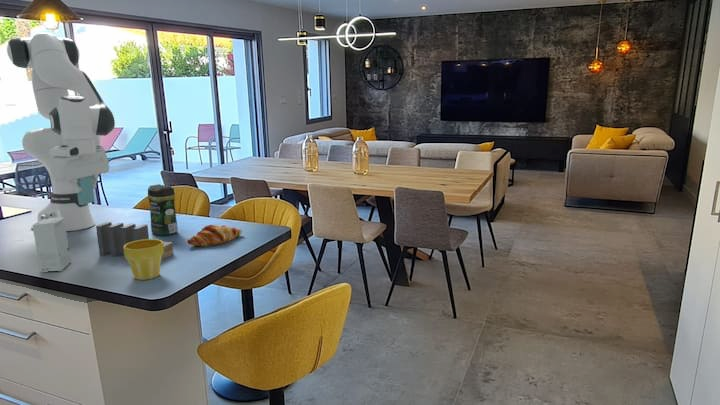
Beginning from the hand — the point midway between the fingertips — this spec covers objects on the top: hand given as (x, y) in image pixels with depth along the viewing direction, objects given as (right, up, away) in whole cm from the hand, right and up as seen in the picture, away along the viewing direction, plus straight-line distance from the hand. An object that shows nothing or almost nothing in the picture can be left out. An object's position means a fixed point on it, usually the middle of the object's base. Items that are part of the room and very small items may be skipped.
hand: (85, 190), depth 152 cm
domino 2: (+5, -21, +3) cm, 22 cm away
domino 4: (+14, -21, +2) cm, 25 cm away
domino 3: (+10, -21, +3) cm, 23 cm away
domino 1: (0, -4, +1) cm, 4 cm away
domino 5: (+19, -21, +1) cm, 28 cm away
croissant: (+38, -18, +16) cm, 45 cm away
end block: (+25, -22, 0) cm, 33 cm away
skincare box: (-3, -24, -10) cm, 26 cm away
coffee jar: (+15, -16, +26) cm, 34 cm away
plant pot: (+27, -25, -16) cm, 40 cm away
